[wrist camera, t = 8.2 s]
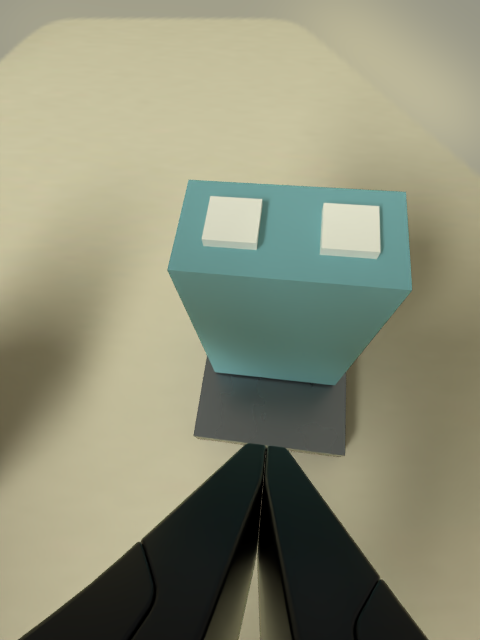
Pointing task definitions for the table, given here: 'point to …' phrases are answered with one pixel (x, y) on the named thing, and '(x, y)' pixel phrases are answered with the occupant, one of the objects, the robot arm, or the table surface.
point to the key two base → (272, 412)
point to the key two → (289, 274)
